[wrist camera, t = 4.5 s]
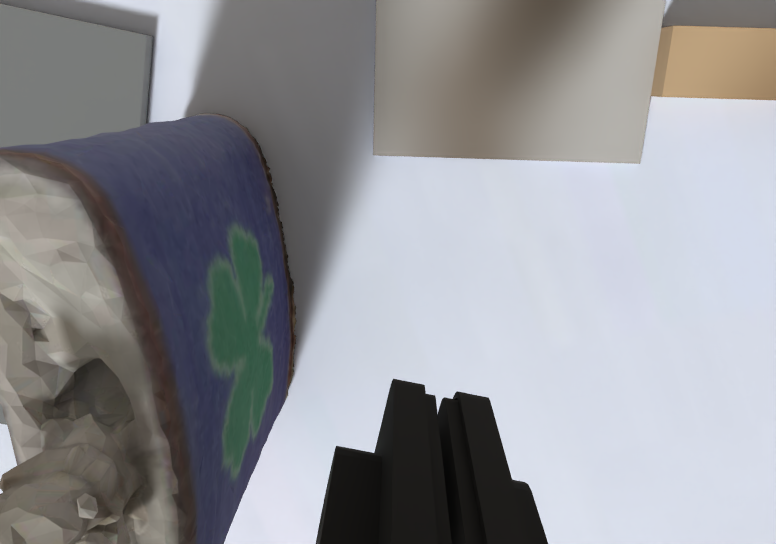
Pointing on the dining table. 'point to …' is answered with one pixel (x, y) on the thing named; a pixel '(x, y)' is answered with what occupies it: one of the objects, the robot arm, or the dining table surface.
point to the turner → (547, 76)
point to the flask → (139, 332)
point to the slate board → (68, 79)
